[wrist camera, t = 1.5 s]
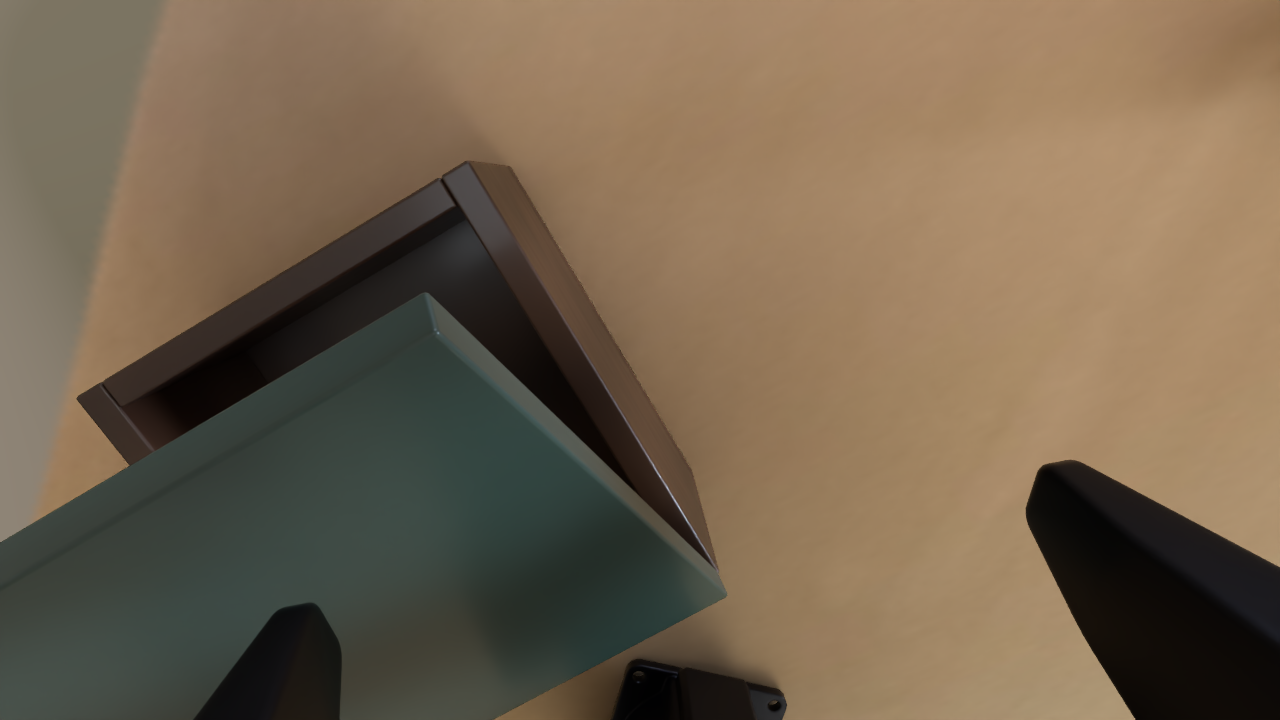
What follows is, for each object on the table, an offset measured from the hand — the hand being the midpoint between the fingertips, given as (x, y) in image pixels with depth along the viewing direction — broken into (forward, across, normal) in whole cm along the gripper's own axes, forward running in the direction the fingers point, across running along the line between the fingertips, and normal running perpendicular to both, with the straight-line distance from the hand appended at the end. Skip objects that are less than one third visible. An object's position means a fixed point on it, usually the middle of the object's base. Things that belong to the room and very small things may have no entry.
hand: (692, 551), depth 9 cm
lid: (+4, +6, +5) cm, 9 cm away
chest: (+15, +5, +9) cm, 19 cm away
